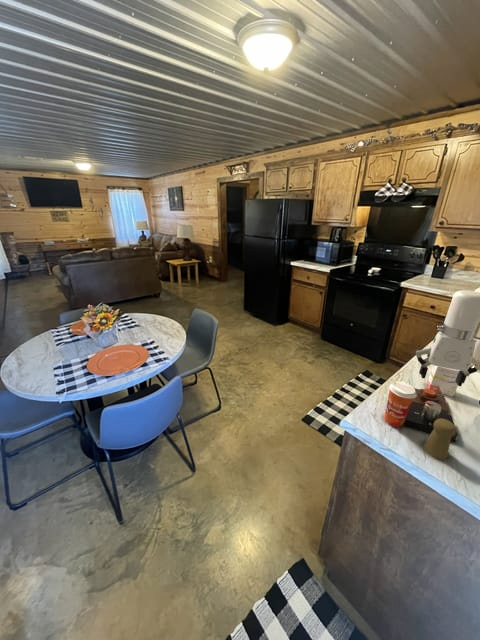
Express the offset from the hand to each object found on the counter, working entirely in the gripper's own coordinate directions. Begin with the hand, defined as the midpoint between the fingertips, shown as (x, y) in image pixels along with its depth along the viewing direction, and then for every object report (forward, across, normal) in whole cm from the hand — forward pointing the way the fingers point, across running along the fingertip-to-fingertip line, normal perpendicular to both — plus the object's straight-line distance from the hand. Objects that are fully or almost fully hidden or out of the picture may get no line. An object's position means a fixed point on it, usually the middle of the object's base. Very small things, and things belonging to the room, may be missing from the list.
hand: (439, 380), depth 85 cm
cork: (+17, 0, -14) cm, 22 cm away
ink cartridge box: (+17, +9, +23) cm, 30 cm away
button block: (+17, +2, +11) cm, 20 cm away
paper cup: (+17, -10, -5) cm, 20 cm away
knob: (+14, 0, -2) cm, 14 cm away
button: (+13, +2, +11) cm, 18 cm away
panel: (+17, 0, -2) cm, 17 cm away
